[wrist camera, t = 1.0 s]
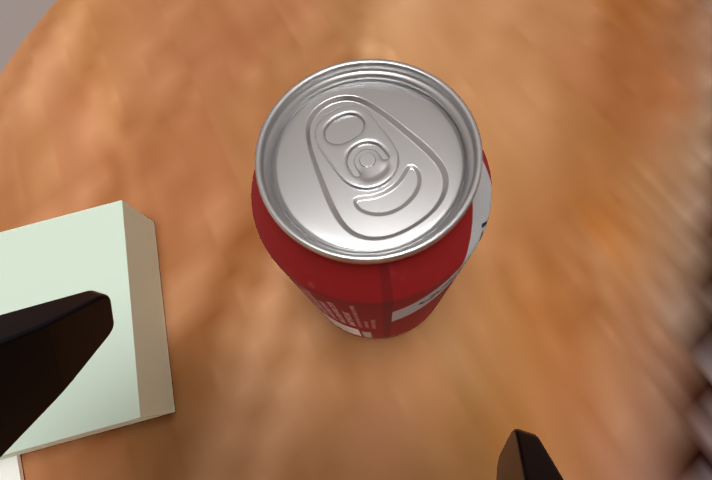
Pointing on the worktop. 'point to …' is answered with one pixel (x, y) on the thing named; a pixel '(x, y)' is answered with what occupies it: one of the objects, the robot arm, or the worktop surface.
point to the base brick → (129, 307)
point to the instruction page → (11, 468)
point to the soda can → (371, 192)
